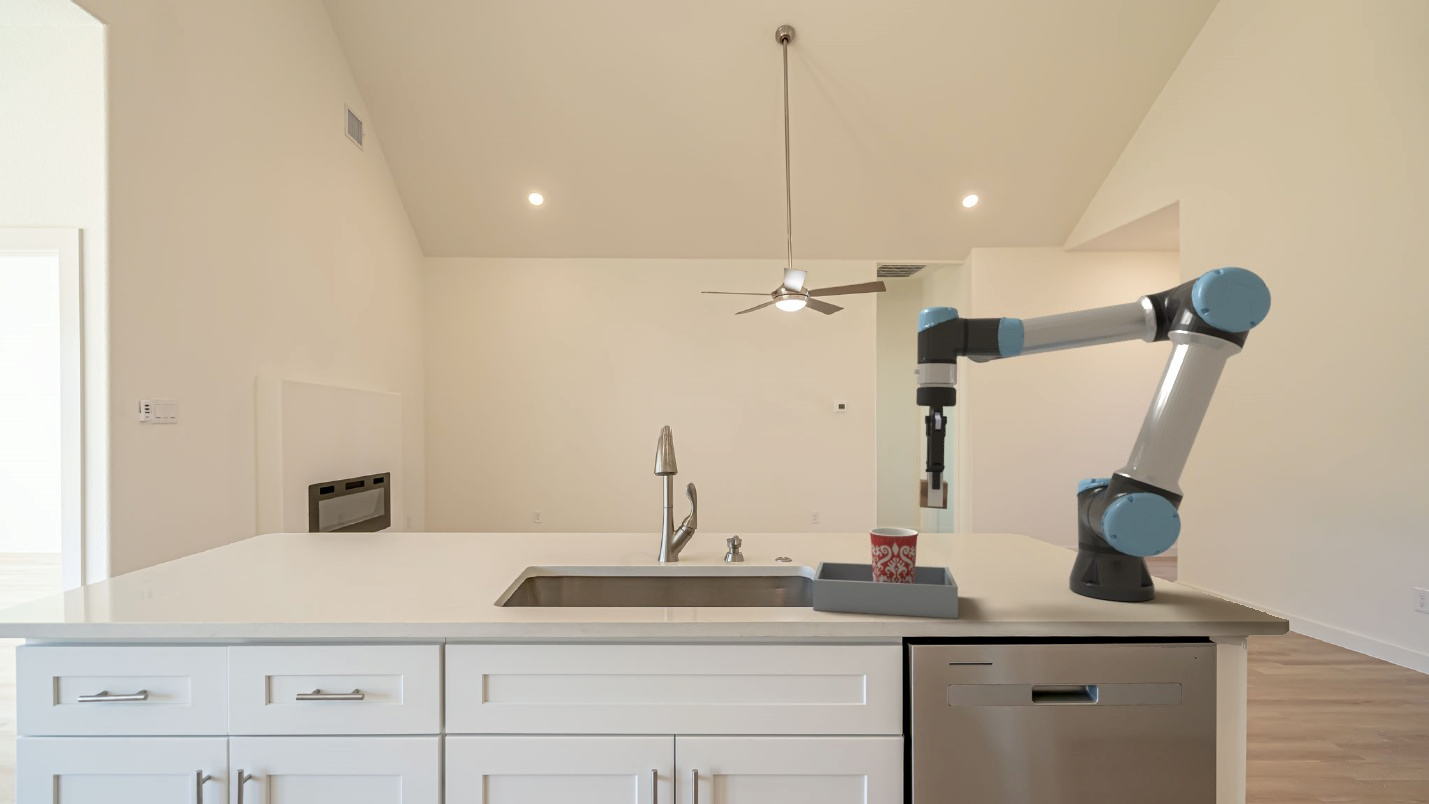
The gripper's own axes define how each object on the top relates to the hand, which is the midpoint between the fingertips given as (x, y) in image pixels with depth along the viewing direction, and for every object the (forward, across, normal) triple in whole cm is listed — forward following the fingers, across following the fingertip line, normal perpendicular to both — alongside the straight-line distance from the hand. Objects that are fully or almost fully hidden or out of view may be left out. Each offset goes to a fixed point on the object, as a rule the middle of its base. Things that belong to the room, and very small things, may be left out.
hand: (934, 504), depth 140 cm
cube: (0, 0, 0) cm, 1 cm away
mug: (+18, +5, -8) cm, 21 cm away
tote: (+19, +5, -9) cm, 22 cm away
